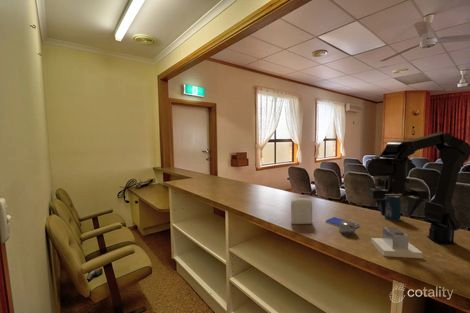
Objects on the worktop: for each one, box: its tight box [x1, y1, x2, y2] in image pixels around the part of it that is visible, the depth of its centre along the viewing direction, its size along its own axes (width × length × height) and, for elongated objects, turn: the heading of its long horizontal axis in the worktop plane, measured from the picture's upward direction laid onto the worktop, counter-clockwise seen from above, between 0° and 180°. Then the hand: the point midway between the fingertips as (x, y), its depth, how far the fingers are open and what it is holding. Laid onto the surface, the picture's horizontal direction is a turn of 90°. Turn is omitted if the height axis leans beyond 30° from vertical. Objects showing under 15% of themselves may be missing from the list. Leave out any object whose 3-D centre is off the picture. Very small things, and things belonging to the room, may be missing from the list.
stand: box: [370, 237, 423, 259], centre depth 81 cm, size 12×10×2 cm
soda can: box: [383, 196, 402, 222], centre depth 112 cm, size 7×7×12 cm
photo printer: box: [290, 197, 313, 225], centre depth 108 cm, size 10×4×12 cm, turn 90°
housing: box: [382, 226, 410, 250], centre depth 81 cm, size 7×5×6 cm
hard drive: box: [325, 216, 361, 229], centre depth 106 cm, size 2×8×12 cm
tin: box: [338, 220, 356, 236], centre depth 97 cm, size 6×6×4 cm
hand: (395, 215), depth 84 cm, fingers open, 9 cm apart
